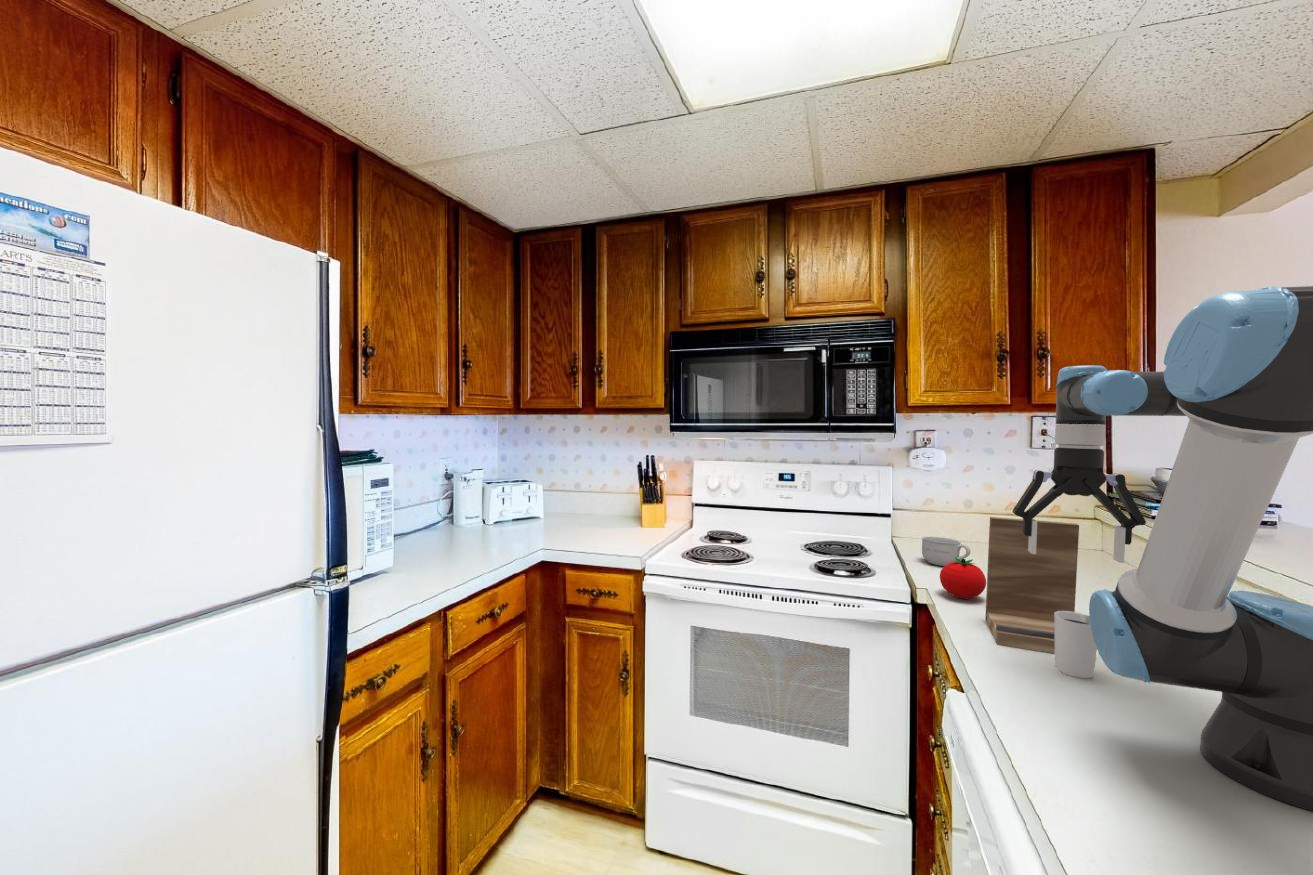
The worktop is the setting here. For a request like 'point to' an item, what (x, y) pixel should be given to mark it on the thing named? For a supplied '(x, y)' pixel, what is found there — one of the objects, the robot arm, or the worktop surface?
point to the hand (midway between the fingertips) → (1074, 556)
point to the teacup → (942, 550)
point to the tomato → (962, 579)
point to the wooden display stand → (1029, 581)
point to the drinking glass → (1074, 644)
